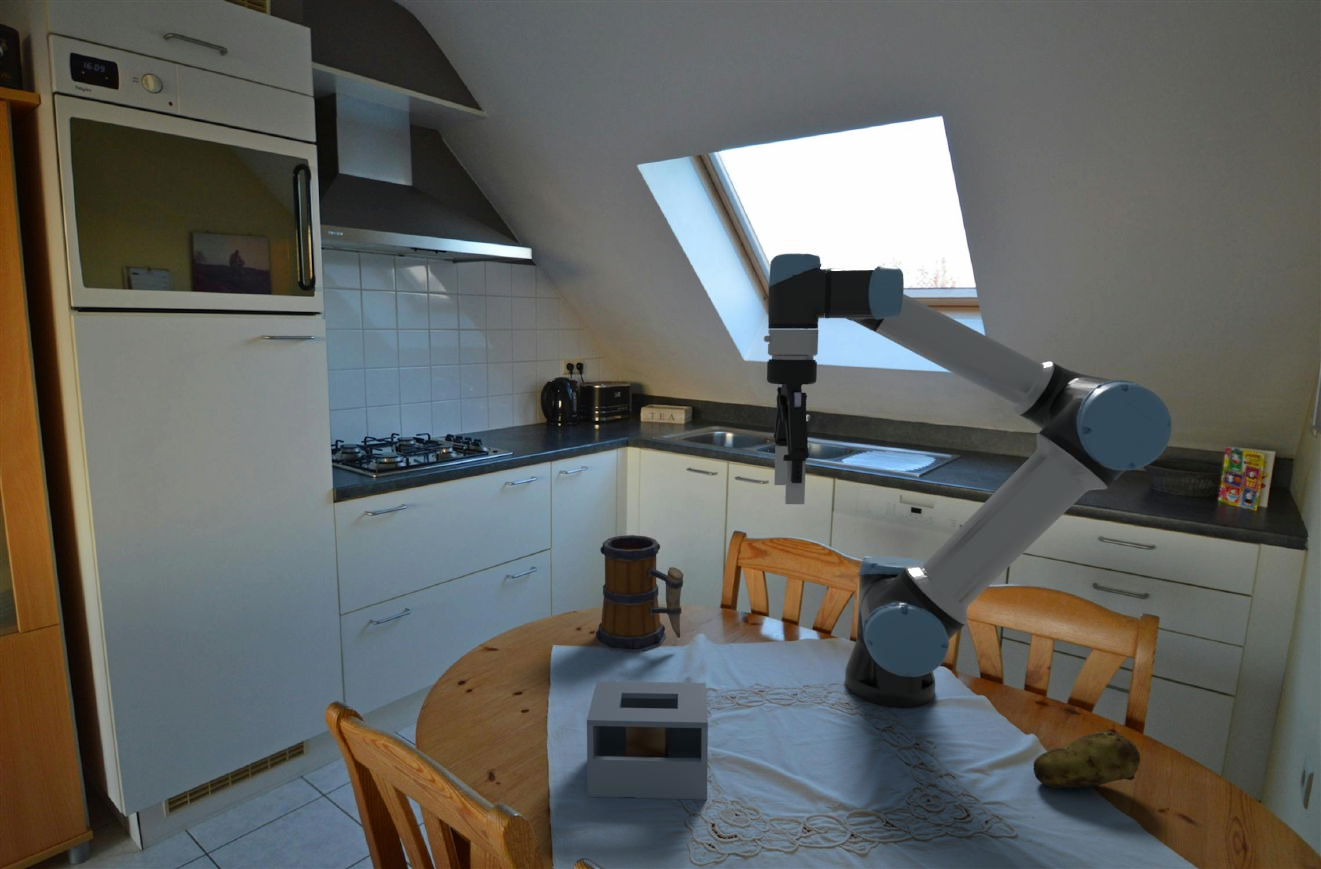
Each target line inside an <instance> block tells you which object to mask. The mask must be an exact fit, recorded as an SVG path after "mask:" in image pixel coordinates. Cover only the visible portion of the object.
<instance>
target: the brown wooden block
mask: <svg viewBox="0 0 1321 869" xmlns="http://www.w3.org/2000/svg"><path fill="white" fill-rule="evenodd" d="M626 757H656V758H668V727H626Z"/></svg>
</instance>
